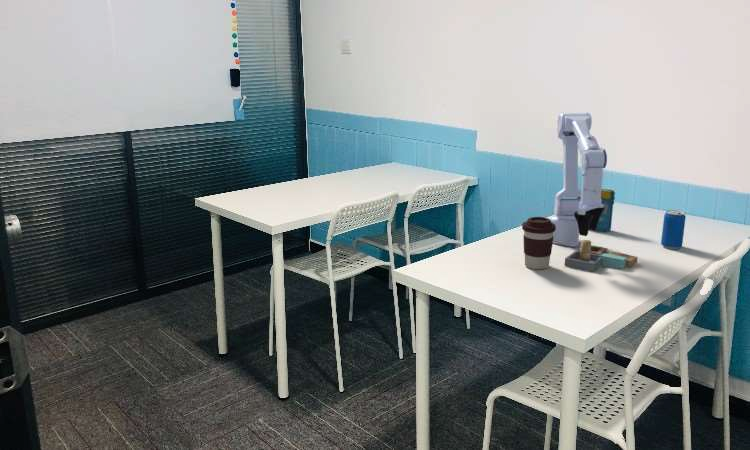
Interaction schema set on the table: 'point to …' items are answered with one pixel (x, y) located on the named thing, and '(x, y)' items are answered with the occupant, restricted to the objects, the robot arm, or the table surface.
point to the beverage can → (673, 229)
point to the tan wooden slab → (629, 260)
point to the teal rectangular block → (613, 261)
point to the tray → (575, 261)
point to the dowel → (585, 250)
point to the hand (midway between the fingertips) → (587, 232)
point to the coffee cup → (538, 242)
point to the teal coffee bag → (606, 210)
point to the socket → (597, 250)
